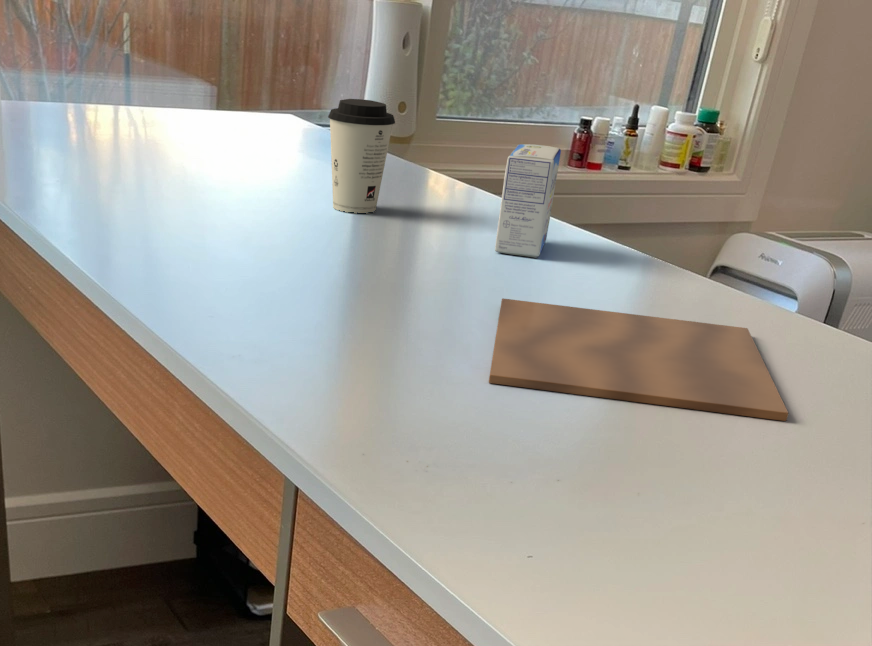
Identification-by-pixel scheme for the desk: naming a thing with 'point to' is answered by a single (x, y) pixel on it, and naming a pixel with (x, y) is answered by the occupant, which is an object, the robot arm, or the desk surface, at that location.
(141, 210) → the desk surface
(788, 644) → the desk surface
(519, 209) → the medicine box
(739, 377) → the wooden board
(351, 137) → the coffee cup
